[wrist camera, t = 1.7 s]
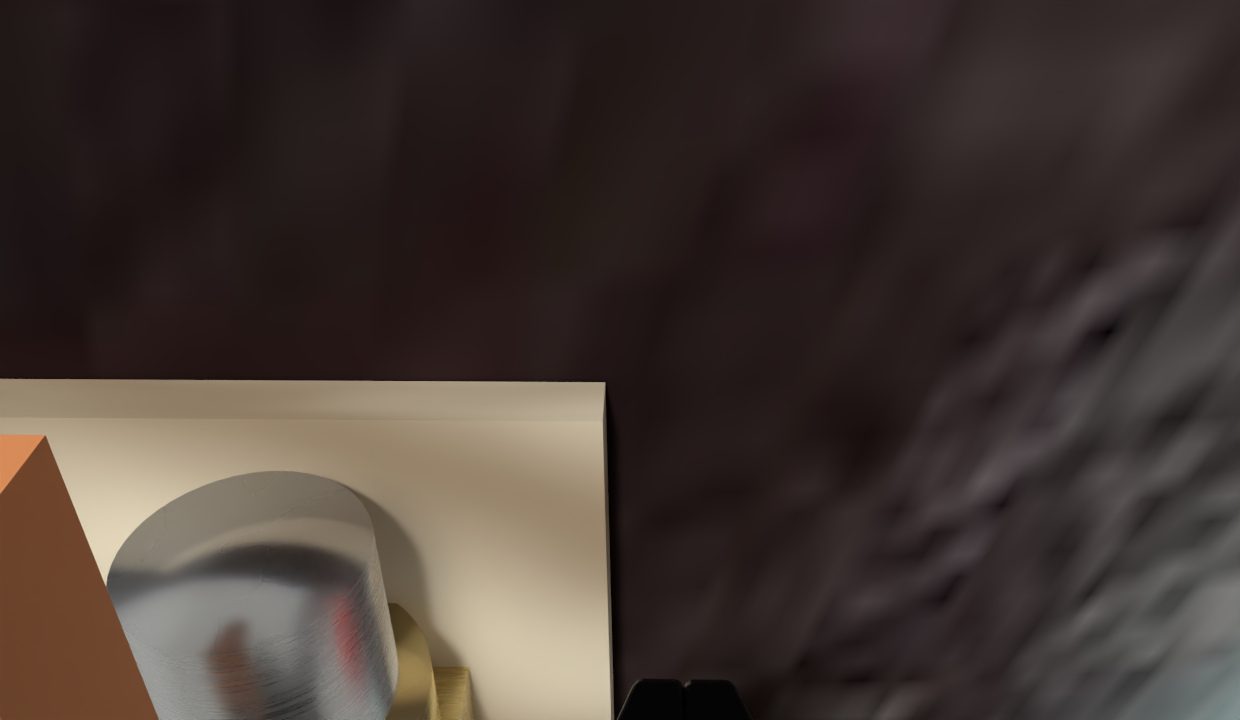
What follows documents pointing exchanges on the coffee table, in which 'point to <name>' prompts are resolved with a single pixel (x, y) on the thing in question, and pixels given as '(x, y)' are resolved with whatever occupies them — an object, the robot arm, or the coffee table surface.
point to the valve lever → (56, 603)
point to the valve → (273, 610)
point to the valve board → (386, 502)
